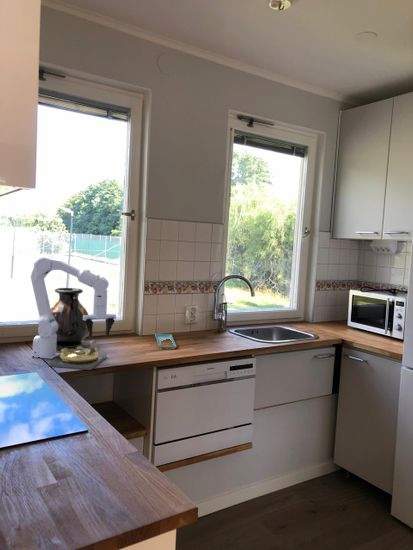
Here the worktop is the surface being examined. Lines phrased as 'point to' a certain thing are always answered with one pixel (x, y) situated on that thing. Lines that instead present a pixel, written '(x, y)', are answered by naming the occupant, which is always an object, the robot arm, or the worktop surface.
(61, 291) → the amphora vase
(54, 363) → the base plate
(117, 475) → the worktop surface
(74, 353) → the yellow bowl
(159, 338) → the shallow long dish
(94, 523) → the worktop surface
